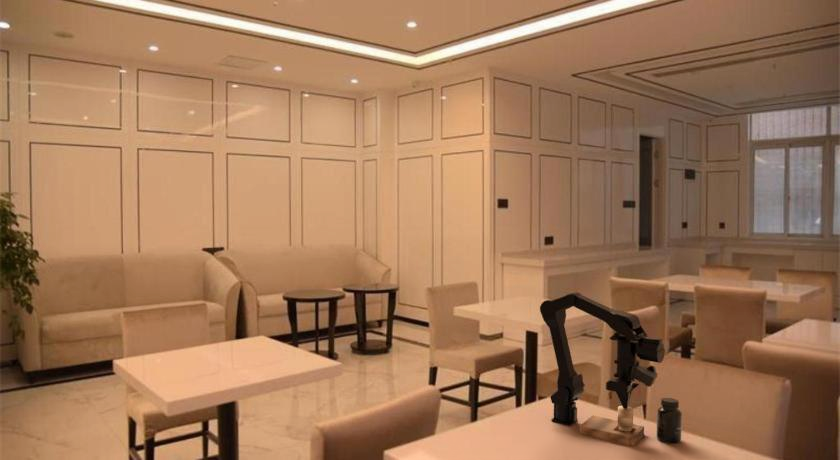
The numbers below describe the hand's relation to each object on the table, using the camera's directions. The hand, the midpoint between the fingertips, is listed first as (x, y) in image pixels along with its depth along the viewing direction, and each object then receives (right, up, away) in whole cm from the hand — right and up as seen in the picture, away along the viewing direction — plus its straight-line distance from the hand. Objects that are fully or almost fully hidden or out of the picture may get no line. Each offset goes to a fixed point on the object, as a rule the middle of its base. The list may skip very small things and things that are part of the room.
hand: (625, 408), depth 178 cm
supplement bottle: (+13, -9, -1) cm, 16 cm away
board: (-3, -9, +3) cm, 10 cm away
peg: (0, -9, 0) cm, 9 cm away
